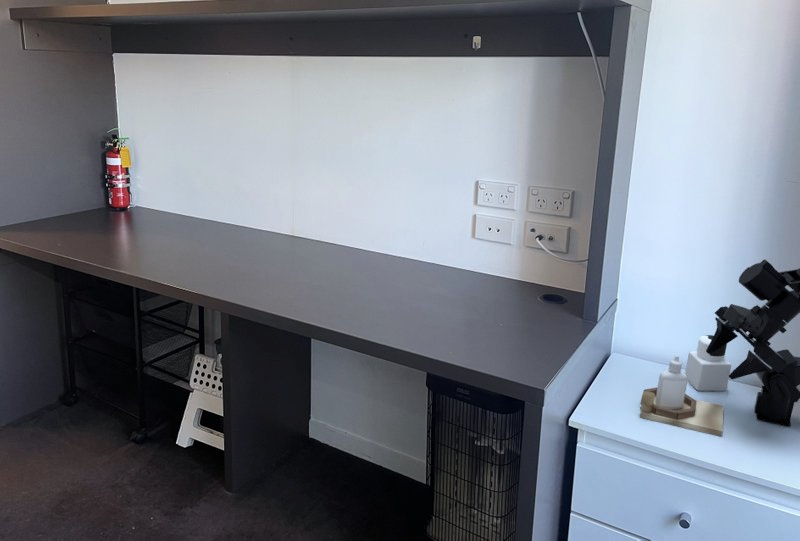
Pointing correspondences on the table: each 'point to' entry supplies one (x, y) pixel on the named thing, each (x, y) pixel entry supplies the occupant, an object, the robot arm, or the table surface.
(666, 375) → the eye dropper bottle
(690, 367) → the medicine bottle
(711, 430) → the board
